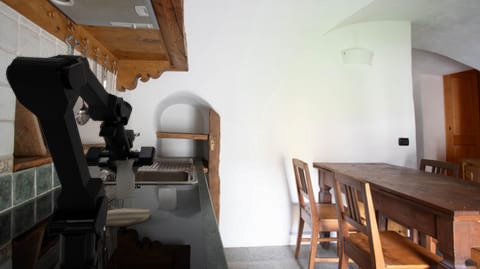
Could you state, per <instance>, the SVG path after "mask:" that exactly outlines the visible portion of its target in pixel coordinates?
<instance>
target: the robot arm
mask: <svg viewBox="0 0 480 269" xmlns="http://www.w3.org/2000/svg"><path fill="white" fill-rule="evenodd" d="M5 77H6V81H7V83H8V84H9V86H10V88H11V91H12V92H13V94H14V96H15V98H16V100H17V101H18V103H19V104H20V105H22V106H23V107H24V108H25V109H27V110H28V111H29V112H30V113H31V114H32V115H34V116H35V117H36V118H37V120H38V123H39V126H40V129H41V131H42V133H43V136H44V140H45V144H46V146H47V149H48V152H49V155H50V158H51V161H52V164H53V167H54V169H55V173H56V175H57V178H58V181H59V185H60V188H61V189H60V190H59V193H58V195H57V197H56V199H55V201H54V202H55V205H54V206H55V207H54V209H53V211H52V212H51V214H50V217H49V219H48V221H47V223H46V225H45V230H46V233H47V234H46V235H47V236H55V235H56V236H59V260H58V262H57V263H56V265H55V266H54V267H53V269H88V268H93V267H95V266H96V264H97V260H98V257H99V254H98V252H99V251H98V250H95V246H96V234H98V233H99V232H100V231H101V230H103V229H104V228H105V225H106V219H107V212H108V211H109V196H107V195H106V193H107V191H106V189H105V184H104V180H103V179H102V177H100V178H92V177H91V176H90V172H89V169H88V166H98V167H99V168H100V169H103V170H106V171H108V172H110V173H112V174H114V175H115V176H117V161H127V160H130V159H131V158H133V160H134V162H133V165H132V168H133V171H134V174H135V176H136V175H137V176H138V170H139V169H140V168H143V167H152V166H154V165H155V164H154V163H155V159H156V158H155V157H156V155H157V149H156V147H155V146H148V145H147V146H141V147H140V148H136V149H134V150H132V149H133V147H134V143H133V142H134V141H135V139H136V138H135V132H134V131H135V130H134V129H127V128H126V127H125V126H127V125H128V124H129V121H130V118H131V115H132V112H133V106H132V105H131V103H129V102H128V101H126V100H124V97H123V96H117V95H116V94H113V93H110V92H108V91H107V90H106V88H105V87H104V85H103V84H102V82H101V81H100V80H99V78H98V77H97V76H96V75H95V73H94V71H93V70H92V69H91V67H90V62H89V60H88V58H87V57H85V56H84V57H83V55H78V54H77V55H76V54H75V55H74V54H61V53H60V54H57V55H52V56H49V57H41V56H39V57H38V56H17V57H14V58H13V59H12V61H11V63H10V64H9V65H8V66H7V67H6V69H5ZM79 97H80V98H81V99H82V101H83V102H84V103H85V104H86V105H87V107H86V112H87V114H88V116H89V118H90V119H91V120H92V121H93V122H101V123H100V124H99V129H100V130H99V132H98V137H99V138H103V141H104V144H105V145H104V146H102V145H101V146H99V145H98V146H94V145H93V146H89V147H88V148H87V151H86V154H85V149H84V147H83V142H82V139H81V135H80V132H79V127H78V124H77V120H76V116H75V112H74V108H75V106H76V104H77V102H78V99H79Z"/></svg>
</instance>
